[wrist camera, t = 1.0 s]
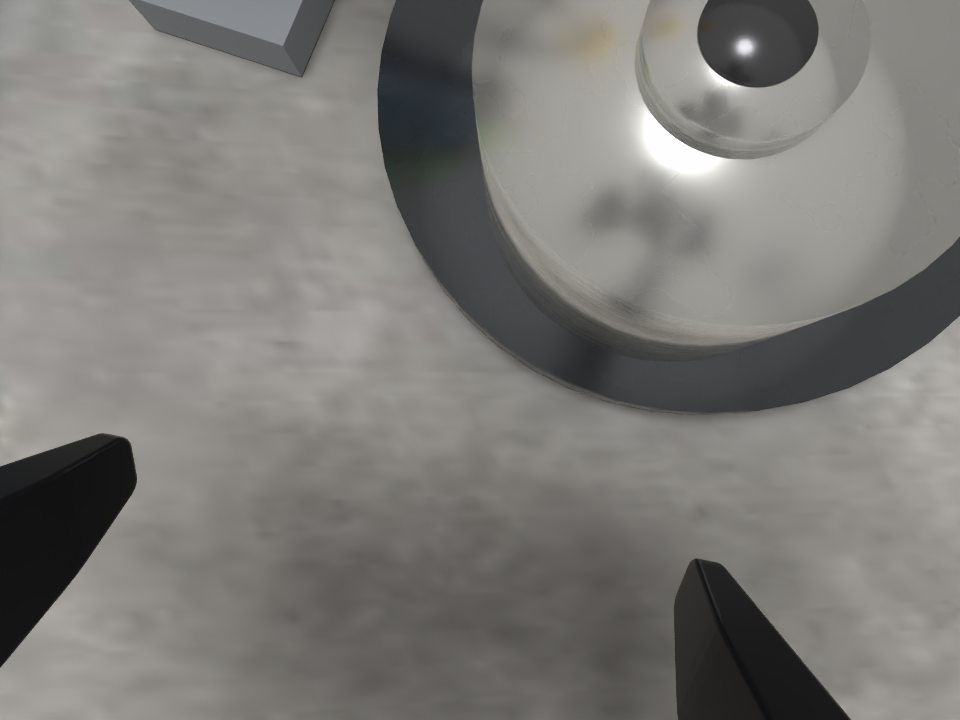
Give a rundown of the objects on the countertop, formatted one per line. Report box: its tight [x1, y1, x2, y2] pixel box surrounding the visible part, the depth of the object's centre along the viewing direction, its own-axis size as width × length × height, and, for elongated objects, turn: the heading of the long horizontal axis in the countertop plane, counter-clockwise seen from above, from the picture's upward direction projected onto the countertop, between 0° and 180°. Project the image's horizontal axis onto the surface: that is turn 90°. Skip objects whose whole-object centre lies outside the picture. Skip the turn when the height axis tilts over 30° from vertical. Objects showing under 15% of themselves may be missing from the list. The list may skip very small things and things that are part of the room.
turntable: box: [378, 0, 960, 415], centre depth 22 cm, size 24×24×2 cm
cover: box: [472, 0, 960, 362], centre depth 17 cm, size 13×13×8 cm
